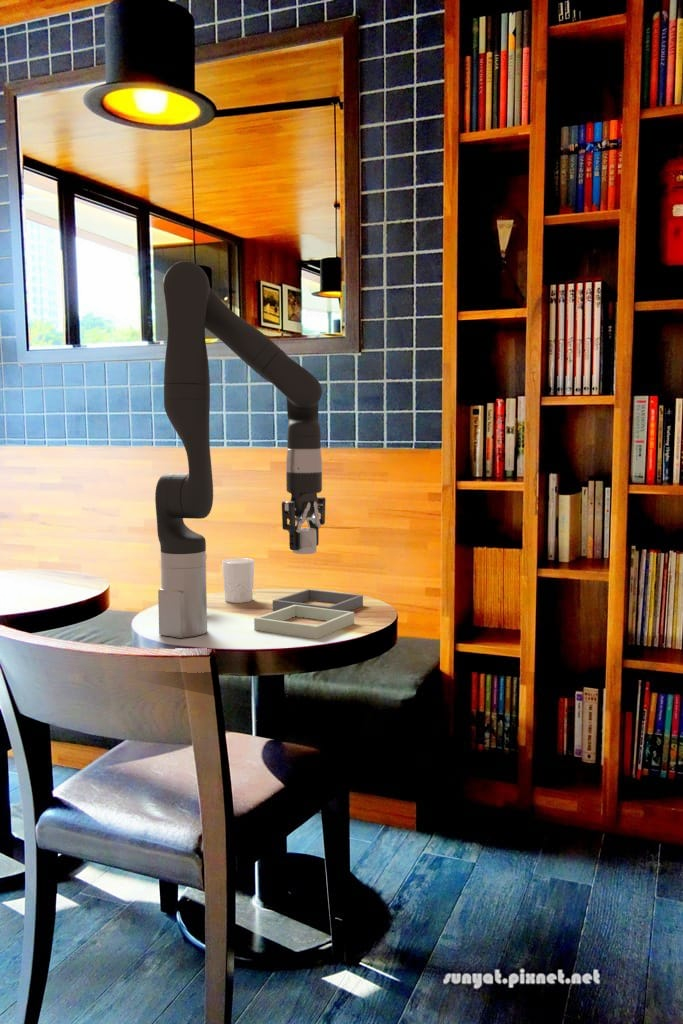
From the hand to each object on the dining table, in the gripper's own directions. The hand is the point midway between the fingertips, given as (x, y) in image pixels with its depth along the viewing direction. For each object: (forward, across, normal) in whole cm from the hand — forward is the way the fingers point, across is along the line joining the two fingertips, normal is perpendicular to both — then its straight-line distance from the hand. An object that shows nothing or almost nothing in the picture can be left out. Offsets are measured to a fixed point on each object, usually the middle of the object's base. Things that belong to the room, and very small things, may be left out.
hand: (304, 547), depth 175 cm
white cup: (+17, +15, +29) cm, 37 cm away
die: (+1, 0, 0) cm, 1 cm away
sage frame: (+17, 0, 0) cm, 17 cm away
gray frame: (+17, +17, +7) cm, 25 cm away
